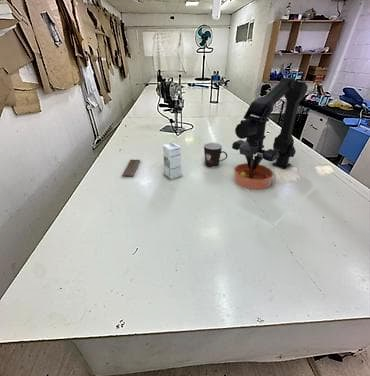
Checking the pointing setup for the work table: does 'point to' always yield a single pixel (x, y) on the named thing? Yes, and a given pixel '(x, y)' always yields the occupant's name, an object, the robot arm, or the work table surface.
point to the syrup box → (172, 160)
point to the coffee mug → (212, 154)
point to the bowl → (260, 178)
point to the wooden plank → (131, 168)
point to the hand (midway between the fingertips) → (252, 168)
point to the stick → (251, 169)
